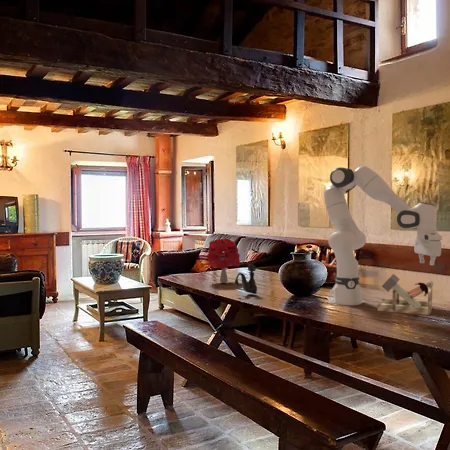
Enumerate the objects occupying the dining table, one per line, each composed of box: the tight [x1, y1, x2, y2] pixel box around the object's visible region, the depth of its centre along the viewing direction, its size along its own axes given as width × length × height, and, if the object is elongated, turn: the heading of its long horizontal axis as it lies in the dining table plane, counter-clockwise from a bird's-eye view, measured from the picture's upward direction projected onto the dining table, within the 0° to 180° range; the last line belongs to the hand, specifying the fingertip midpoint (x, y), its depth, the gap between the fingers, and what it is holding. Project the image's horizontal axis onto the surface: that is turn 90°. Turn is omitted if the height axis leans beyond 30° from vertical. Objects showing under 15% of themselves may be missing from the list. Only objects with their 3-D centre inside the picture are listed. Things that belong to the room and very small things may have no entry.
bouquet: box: [206, 237, 241, 284], centre depth 333 cm, size 22×24×30 cm
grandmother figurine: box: [406, 280, 434, 299], centre depth 240 cm, size 8×4×13 cm
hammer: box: [381, 273, 421, 307], centre depth 241 cm, size 20×14×6 cm
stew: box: [323, 257, 337, 284], centre depth 325 cm, size 28×24×16 cm
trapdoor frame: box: [377, 287, 433, 316], centre depth 240 cm, size 24×18×11 cm
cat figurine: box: [234, 262, 258, 295], centre depth 287 cm, size 10×14×18 cm
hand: (426, 264), depth 238 cm, fingers open, 8 cm apart
